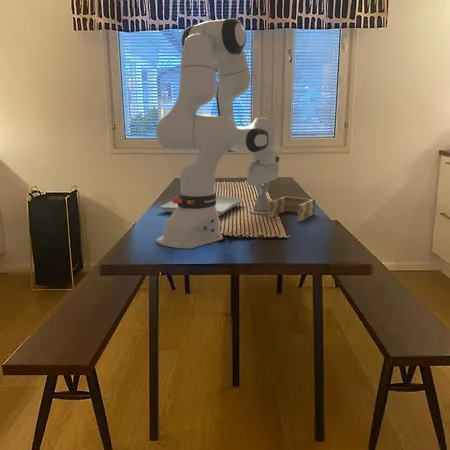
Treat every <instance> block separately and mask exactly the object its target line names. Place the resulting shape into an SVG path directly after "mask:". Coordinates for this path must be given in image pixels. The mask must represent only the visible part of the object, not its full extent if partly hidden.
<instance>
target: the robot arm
mask: <svg viewBox="0 0 450 450" xmlns="http://www.w3.org/2000/svg"><path fill="white" fill-rule="evenodd" d="M246 41H247V33H246V29H245V26H244V24H243V23H242V22H241V21H240V20H239V19H237V18H231V17H230V18H229V17H228V18H225V19H216V20H207V21H204V22H201V23H198V24H192V25H190V26H188V27H186V29H184V31H183V33H182V36H181V46H182V47H181V48H182V52H181V58H180V59H181V60H180V81H179V88H178V89H179V90H178V95H177V99H176V101H175V104H174V106H172V108H171V110H170V111H169V112H168V113H167V114H166V115H165V116H164V117H161V119H160V120H159V121H158V123H157V125H156V129H155V135H156V140H157V141H158V143H159V144H160V146H161V147H162V148H163V149H167V150H168V149H169V150H173V151H189V152H192V151H193V152H194V151H196V152H198V155H197V158H196V159H195V160H192V161H191V162H188V163H186V164H184V166H183V167H182V168H181V170H180V176H179V178H180V192H179V195H178V197H177V196H176V197H175V196H174V197H172V199H171V201H172V202H173V203H177V205H178V207H177V208H176V210H175V211H174V212H173V213H171V215H170V216H169V217H168V218H167V220H166V221H165V222H164V225H163V235H161V236H159V237H158V238H156V241H155V242H156V243H157V244H159V245H161V246H166V247H170V248H175V249H187V250H188V249H194V248H198V247H200V246H204V245H207V244H211V243H214V242H215V243H216V242H218V241H220V240H221V241H222V240H223V239H224V236H223V235H222V234H221V226H220V217H219V216H218V213H217V211H216V208H215V205H216V196H217V195H216V194H217V193H216V191H215V190H216V189H215V187H216V186H215V185H216V184H215V182H216V172H217V167H218V165H219V162H220V160H221V158H222V157H223V156H224V155H225V154H226V153H227V152H228V153H236V152H237V153H247V154H248V153H249V154H251V163H250V164H249V166H248V168H247V173H246V183H247V186H252V187H253V186H255V188H256V190H257V193H256V194H257V195H258V194H259V195H261V194H263V190H262V187H261V186H262V185H265V186H266V188H265V192H266V194H267V193H268V192H269V191H268V190H269V186H270V182H271V181H274V180H275V181H276V180H277V179H278V176H279V163H280V156H279V155H278V154H277V155H276V153H275V152H276V151H275V142H276V129H275V128H276V127H275V122H274V120H273V119H272V118H270V117H264V116H263V117H262V116H257V117H254V120H253V122H251V123H250V124H249V125H247V126H239V125H237V124H236V123H235V118H234V117H235V115H234V108H233V103H234V102H235V99H237V98H238V97H240V96H241V95H243V94H244V93H245V92H247V91H248V88H249V87H250V85H251V74H250V68H249V67H250V66H249V62H248V60H247V56H246V54H245V51H244V48H245V45H246ZM216 73H217V74H216ZM216 75H217V76H218V88H217V90H216V77H217V76H216ZM215 95H216V96H215ZM214 97H216V105H217V107H216V108H217V114H216V115H215V114H214V115H213V114H212V115H210V114H209V115H207V114H206V115H205V114H204V115H199V114H198V115H197V112H198V110H199V109H200V108H201V107H202V106H204V105H206V104H208V103H210V102H211V101H212V100H213V98H214Z"/></svg>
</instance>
